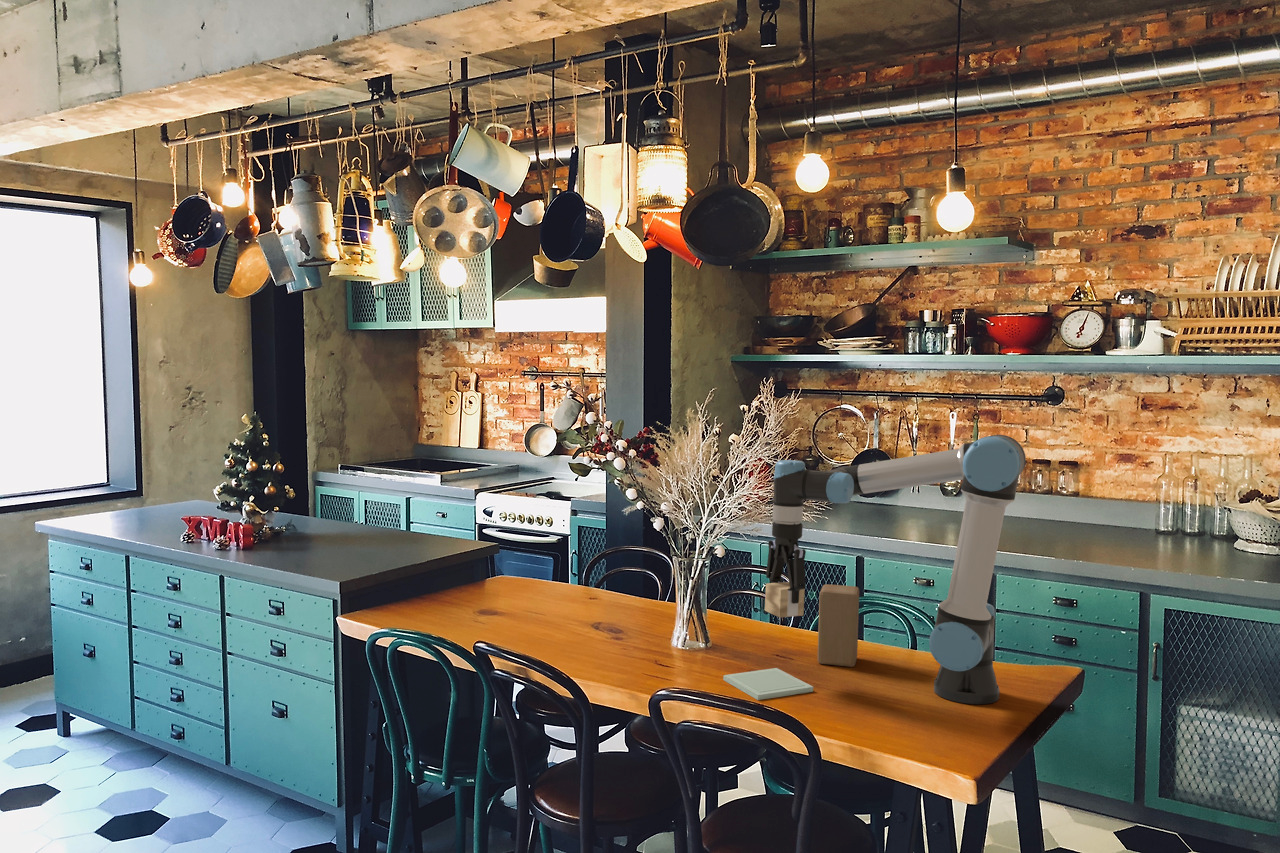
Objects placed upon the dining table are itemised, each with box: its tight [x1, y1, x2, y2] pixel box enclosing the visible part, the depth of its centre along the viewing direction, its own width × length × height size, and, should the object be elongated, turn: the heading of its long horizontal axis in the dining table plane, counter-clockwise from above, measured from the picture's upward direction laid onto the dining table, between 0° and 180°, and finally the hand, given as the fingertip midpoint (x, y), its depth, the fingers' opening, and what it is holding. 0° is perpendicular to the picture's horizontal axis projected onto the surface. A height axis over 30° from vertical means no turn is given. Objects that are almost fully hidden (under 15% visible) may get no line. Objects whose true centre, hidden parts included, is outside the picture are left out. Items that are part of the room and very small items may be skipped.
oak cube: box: [764, 581, 806, 618], centre depth 238 cm, size 7×7×7 cm
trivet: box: [722, 667, 814, 701], centre depth 234 cm, size 16×16×1 cm
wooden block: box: [817, 584, 860, 668], centre depth 255 cm, size 10×10×20 cm
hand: (783, 611), depth 238 cm, fingers closed on oak cube, 7 cm apart
